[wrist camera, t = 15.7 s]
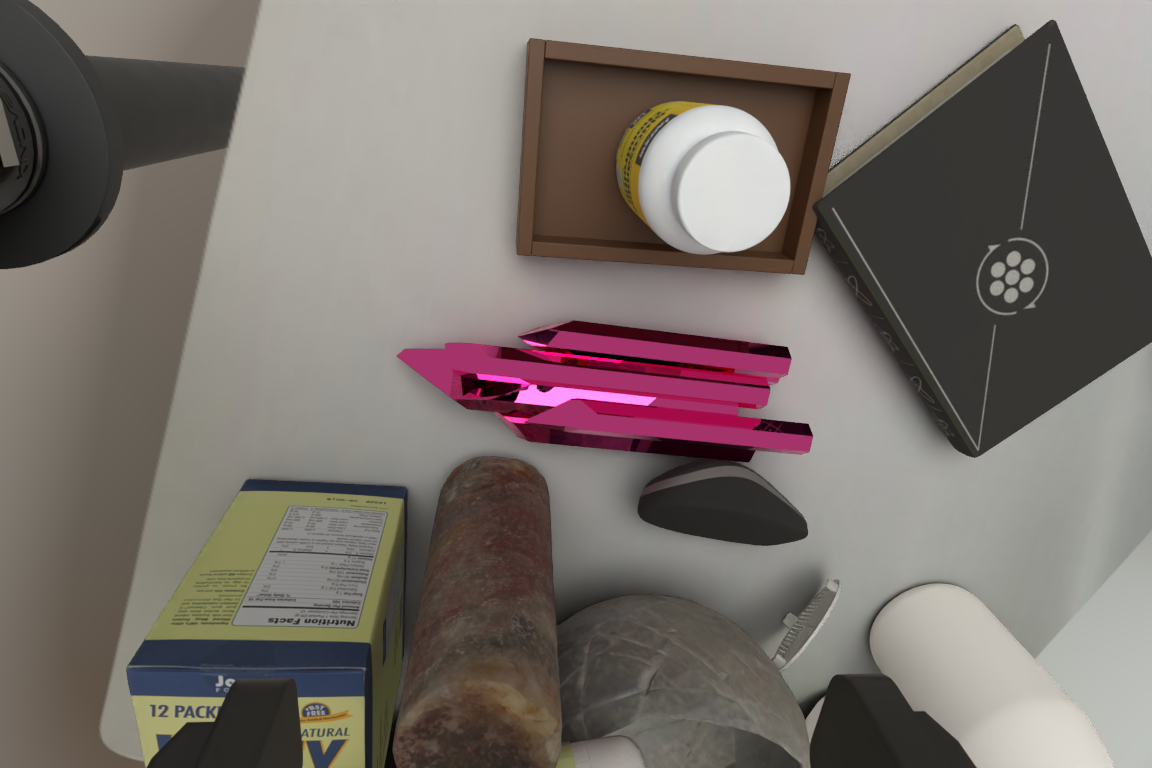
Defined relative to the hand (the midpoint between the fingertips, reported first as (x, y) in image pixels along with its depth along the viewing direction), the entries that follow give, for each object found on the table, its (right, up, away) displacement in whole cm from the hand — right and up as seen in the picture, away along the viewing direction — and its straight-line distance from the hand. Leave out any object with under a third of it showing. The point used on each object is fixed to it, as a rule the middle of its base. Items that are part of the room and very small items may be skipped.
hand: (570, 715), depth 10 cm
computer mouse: (+10, -5, +34) cm, 35 cm away
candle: (-6, -2, +36) cm, 37 cm away
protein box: (-17, -8, +37) cm, 42 cm away
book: (+25, +13, +32) cm, 43 cm away
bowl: (+4, -16, +43) cm, 46 cm away
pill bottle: (+5, +17, +27) cm, 33 cm away
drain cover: (+17, -13, +39) cm, 44 cm away
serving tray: (+5, +18, +28) cm, 34 cm away
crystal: (+1, +6, +33) cm, 33 cm away
